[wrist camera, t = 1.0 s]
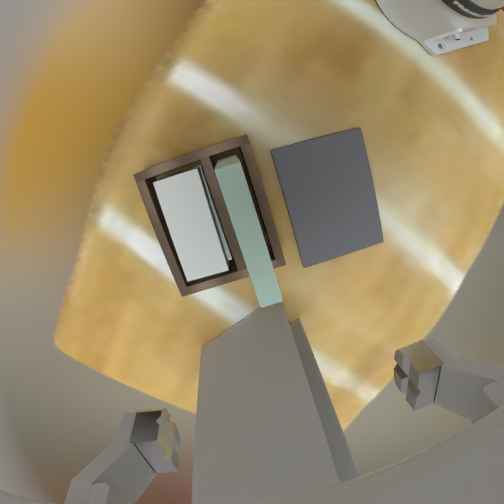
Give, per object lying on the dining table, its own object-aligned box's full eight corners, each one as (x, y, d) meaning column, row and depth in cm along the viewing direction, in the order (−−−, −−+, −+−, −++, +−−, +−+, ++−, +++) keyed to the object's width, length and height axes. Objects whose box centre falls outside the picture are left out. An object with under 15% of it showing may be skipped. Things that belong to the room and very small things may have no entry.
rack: (244, 135, 37) (246, 134, 33) (279, 250, 43) (286, 264, 38) (144, 170, 38) (133, 174, 33) (186, 279, 43) (182, 296, 38)
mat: (358, 127, 38) (360, 127, 37) (381, 240, 43) (383, 241, 43) (270, 150, 38) (271, 150, 38) (303, 266, 44) (304, 268, 43)
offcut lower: (202, 163, 39) (200, 165, 36) (231, 251, 43) (232, 259, 40) (164, 176, 39) (159, 179, 36) (195, 262, 43) (194, 271, 40)
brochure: (224, 368, 49) (231, 548, 21) (201, 346, 47) (190, 536, 19) (299, 319, 47) (368, 502, 19) (278, 294, 45) (340, 488, 17)
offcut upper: (199, 166, 36) (197, 168, 33) (228, 260, 40) (228, 270, 37) (158, 179, 36) (153, 182, 33) (190, 271, 40) (187, 281, 37)
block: (234, 153, 38) (240, 161, 23) (262, 242, 42) (283, 300, 27) (218, 158, 38) (214, 170, 23) (248, 246, 42) (260, 307, 27)
